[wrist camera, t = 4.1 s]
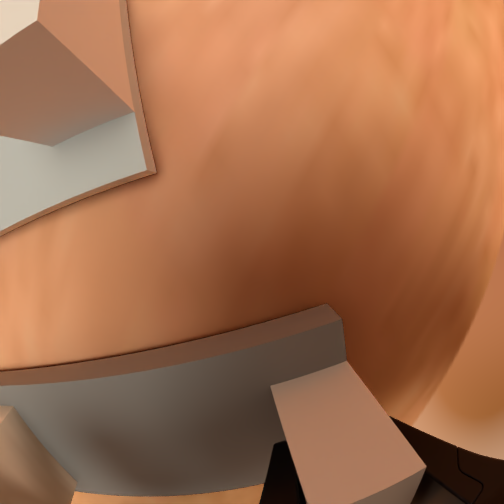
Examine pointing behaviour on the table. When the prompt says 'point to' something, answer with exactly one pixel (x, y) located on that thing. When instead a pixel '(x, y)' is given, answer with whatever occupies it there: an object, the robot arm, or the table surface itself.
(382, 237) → the table surface
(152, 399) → the grey piece
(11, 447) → the cream block
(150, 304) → the table surface
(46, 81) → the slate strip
